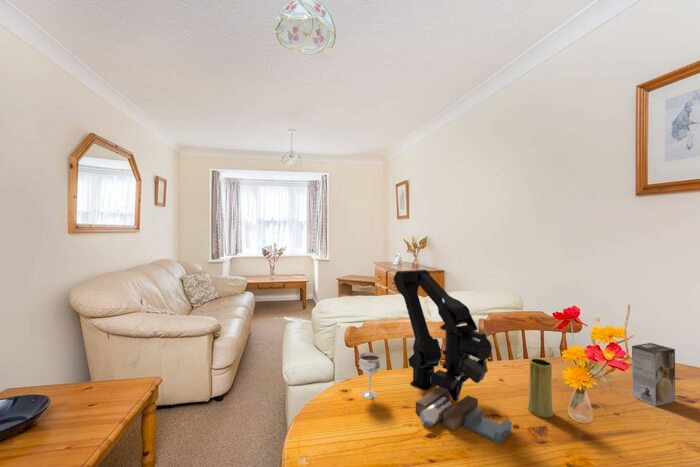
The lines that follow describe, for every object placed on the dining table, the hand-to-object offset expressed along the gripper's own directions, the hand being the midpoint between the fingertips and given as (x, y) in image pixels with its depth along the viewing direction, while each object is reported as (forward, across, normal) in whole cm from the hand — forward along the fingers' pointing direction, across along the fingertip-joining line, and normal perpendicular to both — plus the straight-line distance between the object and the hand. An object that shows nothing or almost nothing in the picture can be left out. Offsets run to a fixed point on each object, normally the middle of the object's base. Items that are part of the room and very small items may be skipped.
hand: (455, 400), depth 94 cm
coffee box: (+2, +47, -41) cm, 62 cm away
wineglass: (+2, -14, +22) cm, 26 cm away
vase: (+2, +14, -19) cm, 23 cm away
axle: (0, -10, 0) cm, 10 cm away
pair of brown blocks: (+1, -5, 0) cm, 5 cm away
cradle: (+1, -5, -12) cm, 13 cm away
